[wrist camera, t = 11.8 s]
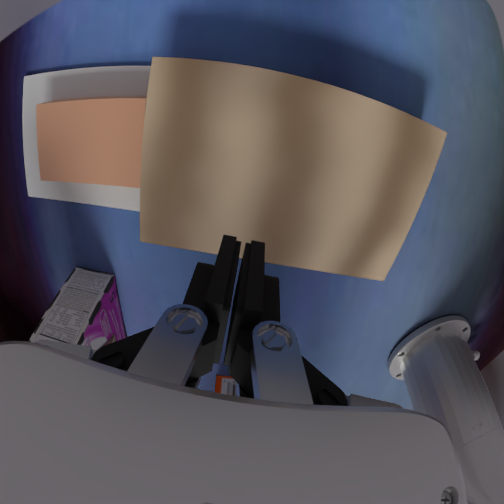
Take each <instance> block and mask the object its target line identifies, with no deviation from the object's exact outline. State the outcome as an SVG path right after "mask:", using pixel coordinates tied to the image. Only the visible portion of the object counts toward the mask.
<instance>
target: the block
mask: <svg viewBox="0 0 504 504" xmlns="http://www.w3.org/2000/svg"><path fill="white" fill-rule="evenodd" d="M146 100H147V96H97V97H81V98H69V99H59V100H51V101H47V102H44V103H40V104H37V105H36V125H37V146H38V159H39V170H40V178H41V181H59V182H74V183H88V184H101V185H113V186H124V187H134V188H140V178H141V157H142V142H143V129H144V118H145V108H146Z"/></svg>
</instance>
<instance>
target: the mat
mask: <svg viewBox="0 0 504 504" xmlns="http://www.w3.org/2000/svg"><path fill="white" fill-rule="evenodd" d="M150 70H151V66H106V67H90V68H78V69H69V70H61V71H53V72H47V73H40V74H35V75H29V76H24V85H23V114H22V120H23V149H24V163H25V173H26V182H27V190H28V196H30V197H38V198H46V199H54V200H61V201H69V202H76V203H84V204H91V205H98V206H105V207H112V208H119V209H126V210H132V211H139V212H140V188H134V187H124V186H113V185H101V184H88V183H74V182H59V181H41V178H40V170H39V159H38V146H37V125H36V105H37V104H40V103H44V102H47V101H51V100H59V99H69V98H81V97H97V96H147V92H148V84H149V77H150Z"/></svg>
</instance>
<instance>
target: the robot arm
mask: <svg viewBox="0 0 504 504" xmlns="http://www.w3.org/2000/svg"><path fill="white" fill-rule="evenodd" d="M236 240H237V237H234V236H229V235H223V238H222V242H221V245H220V249H219V252H218V256H217V259H216V263H215V265H210V264H205V263H200V262H198V263H197V266H196V268H195V271H194V274H193V277H192V279H191V282H190V285H189V288H188V290H187V293H186V296H185V299H184V302H183V304H179V305H174V306H172V307H170V308H168V309H167V310H166V311H165V312H164V313H163V315H162V316H161V318H160V319H159V321H158V322H157V324H156V326H155V327H153V328H150V329H147V330H145V331H142V332H140V333H137V334H134V335H132V336H129V337H126V338H124V339H121V340H118V341H116V342H113V343H110V344H108V345H105V346H103V347H101V348H99V349H98V350H93V349H92V348H91V346H84V345H77V344H69V343H62V342H56V341H50V340H38V341H35V342H27V341H6V342H1V343H0V504H504V430H503V427H502V425H501V423H500V419H499V417H498V414H497V411H496V409H495V406H494V404H493V401H492V399H491V396H490V394H489V392H488V389H487V387H486V384H485V382H484V380H483V378H482V375H481V373H480V371H479V369H478V367H477V365H476V363H475V361H474V360H477V359H478V358H479V356H480V353H479V351H471V349H470V347H469V345H468V343H467V342H468V339H469V337H470V332H471V329H470V326H469V324H468V322H467V320H466V319H465V318H463V317H461V316H454V315H452V316H445V317H442V318H438V319H436V320H433V321H431V322H429V323H427V324H425V325H423V326H421V327H420V328H418V329H417V330H415V331H413V332H412V333H411V334H410V335H408V336H407V337H406V338H405V339H404V340H402V341H401V342H400V343H399V344H398V346H397V347H396V348H395V349H394V350H393V352H392V354H391V355H390V357H389V360H388V369H389V372H390V374H391V376H392V377H394V378H396V379H399V380H405V383H406V386H407V390H408V393H409V396H410V399H411V402H412V406H413V409H414V410H409V409H403V408H402V407H401V406H400V405H397V404H395V403H390V402H385V401H381V400H376V399H372V398H367V397H363V396H359V395H355V394H351V395H350V396H346V395H345V394H344V392H343V391H342V390H341V389H340V388H339V387H337V386H336V385H335V384H334V383H333V382H332V381H330V380H329V379H328V378H327V377H326V376H325V375H323V374H322V373H321V372H320V371H319V370H318V369H316V368H315V367H314V366H313V365H312V364H311V363H309V362H308V361H307V360H306V359H305V358H304V357H303V356H301V352H300V349H299V345H298V341H297V337H296V335H295V333H294V332H293V331H292V329H291V328H289V327H288V326H287V325H285V324H283V323H280V297H279V278H277V277H272V276H267V275H264V265H265V243H264V242H259V241H254V240H252V241H251V243H246V244H245V248H244V253H243V257H242V262H241V267H240V271H239V276H238V281H237V285H236V290H235V295H234V300H233V306H232V313H231V319H230V326H229V332H228V338H227V345H226V351H225V358H224V365H229V369H228V374H230V376H231V377H232V378H233V379H234V380H235V381H236V382H237V384H236V395H237V396H233V395H227V394H221V393H215V392H210V391H205V390H200V389H197V387H198V385H199V382H200V378H201V376H203V375H205V374H207V373H209V372H210V371H212V366H213V363H218V364H219V361H220V356H221V351H222V346H223V341H224V336H225V331H226V326H227V321H228V317H229V312H230V306H231V301H232V295H233V289H234V283H235V277H236V271H237V265H238V260H239V254H240V248H241V241H236Z"/></svg>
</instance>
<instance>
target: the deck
mask: <svg viewBox="0 0 504 504" xmlns="http://www.w3.org/2000/svg"><path fill="white" fill-rule="evenodd" d="M446 135H447V132H445V131H443V130H441V129H439V128H437V127H435V126H433V125H431V124H429V123H427V122H425V121H423V120H421V119H419V118H417V117H414V116H412V115H410V114H408V113H405V112H403V111H401V110H399V109H396V108H394V107H391V106H389V105H386V104H384V103H381V102H379V101H376V100H374V99H371V98H368V97H366V96H363V95H360V94H357V93H354V92H351V91H348V90H345V89H342V88H339V87H336V86H332V85H329V84H326V83H322V82H319V81H315V80H312V79H308V78H304V77H300V76H296V75H292V74H287V73H283V72H278V71H274V70H269V69H264V68H258V67H253V66H247V65H241V64H234V63H227V62H219V61H210V60H201V59H189V58H172V57H153V58H152V64H151V70H150V77H149V84H148V92H147V100H146V108H145V118H144V129H143V142H142V157H141V178H140V241H141V242H146V243H152V244H158V245H164V246H170V247H176V248H182V249H188V250H194V251H199V252H205V253H211V254H217V255H218V252H219V249H220V245H221V242H222V238H223V235H229V236H234V237H237V240H236V241H241V248H240V254H239V258H242V257H243V253H244V248H245V244H246V243H251V241H252V240H254V241H259V242H264V243H265V262H266V263H272V264H278V265H285V266H291V267H297V268H303V269H310V270H316V271H322V272H329V273H335V274H341V275H348V276H354V277H360V278H367V279H373V280H380V281H384V279H385V277H386V276H387V274H388V272H389V270H390V268H391V266H392V264H393V262H394V260H395V258H396V256H397V254H398V252H399V250H400V248H401V246H402V244H403V242H404V240H405V238H406V236H407V234H408V232H409V230H410V228H411V225H412V223H413V221H414V219H415V217H416V214H417V212H418V210H419V207H420V205H421V203H422V200H423V198H424V196H425V193H426V191H427V188H428V186H429V183H430V181H431V178H432V175H433V173H434V170H435V167H436V165H437V162H438V159H439V156H440V153H441V151H442V148H443V145H444V142H445V139H446Z"/></svg>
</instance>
